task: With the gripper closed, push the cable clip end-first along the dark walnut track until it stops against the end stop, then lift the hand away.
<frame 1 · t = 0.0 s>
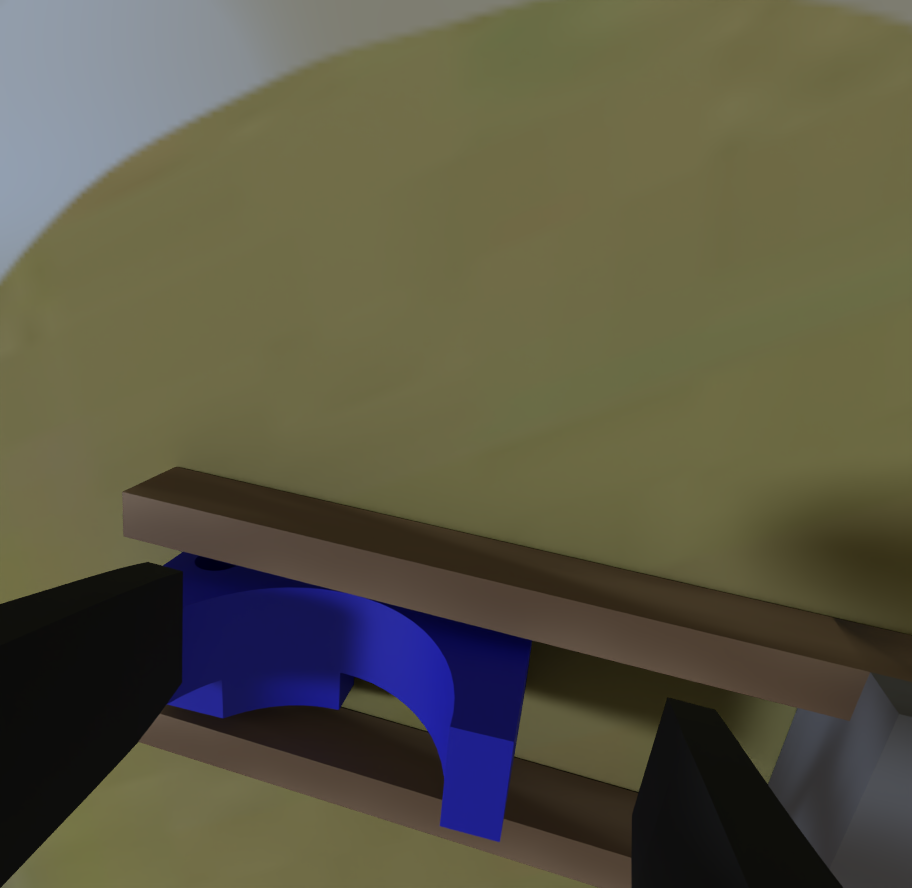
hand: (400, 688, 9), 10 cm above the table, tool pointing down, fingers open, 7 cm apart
cable clip: (359, 624, 21), resting in cable track
cable track: (496, 672, 20), on the table
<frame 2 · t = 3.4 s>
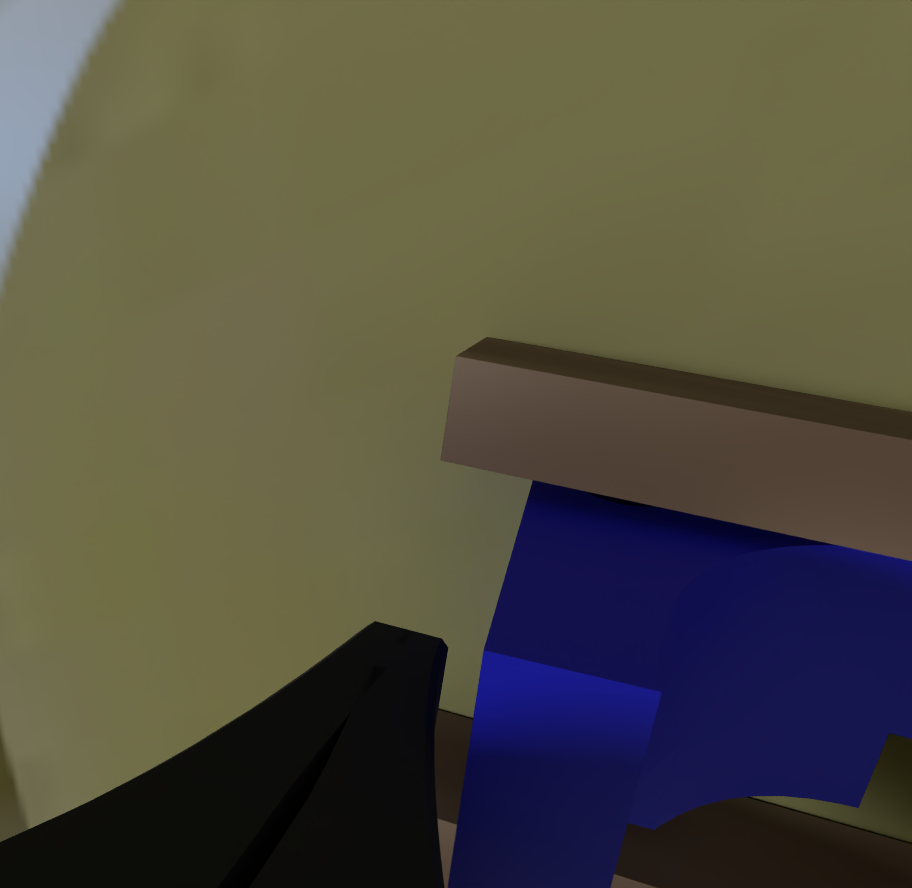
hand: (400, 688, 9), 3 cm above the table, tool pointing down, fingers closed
cable clip: (858, 630, 11), resting in cable track, touching gripper
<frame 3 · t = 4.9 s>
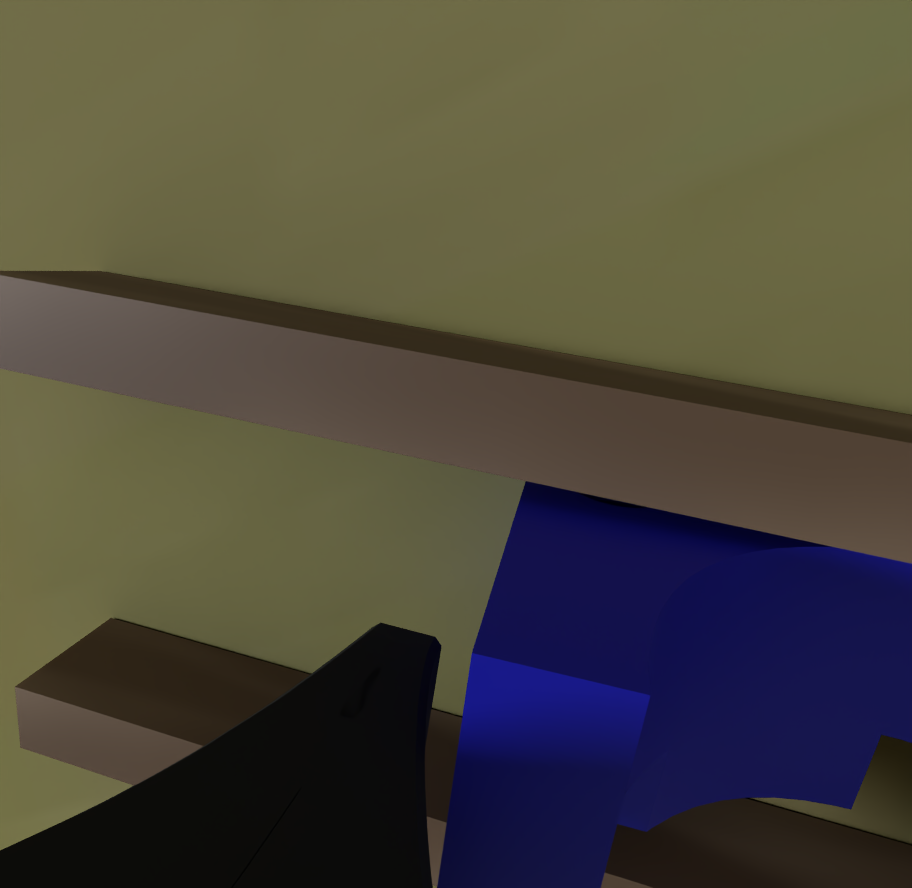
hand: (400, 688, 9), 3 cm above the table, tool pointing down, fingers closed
cable clip: (851, 631, 11), resting in cable track, touching gripper
cable track: (669, 630, 11), on the table
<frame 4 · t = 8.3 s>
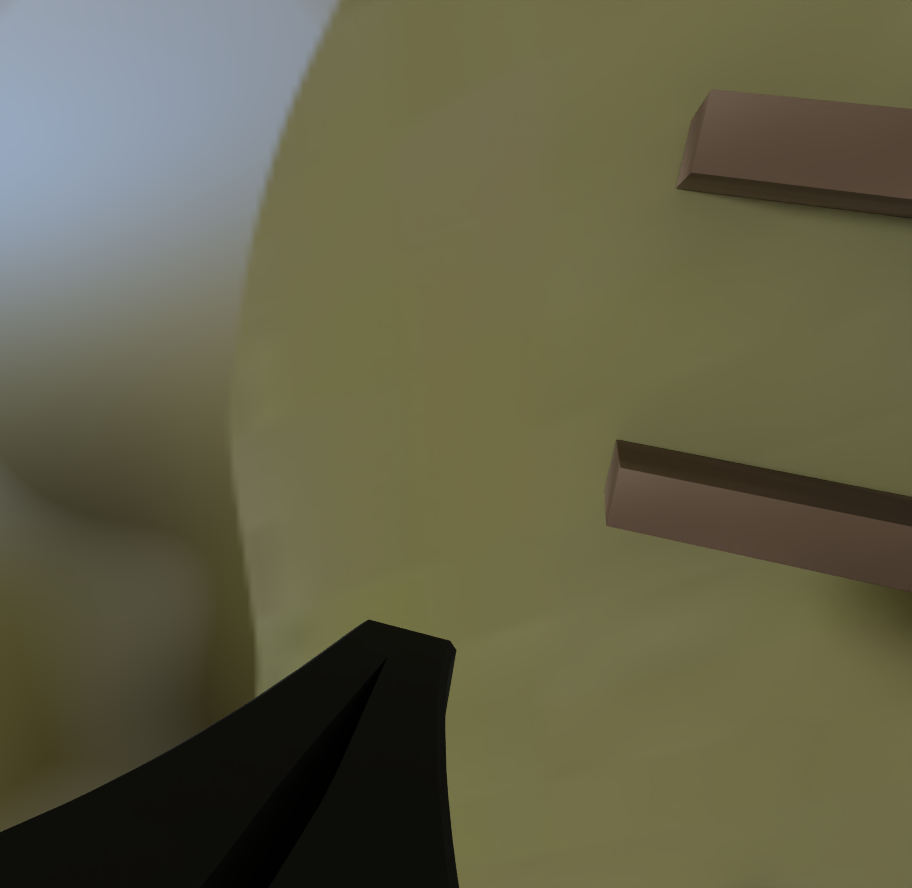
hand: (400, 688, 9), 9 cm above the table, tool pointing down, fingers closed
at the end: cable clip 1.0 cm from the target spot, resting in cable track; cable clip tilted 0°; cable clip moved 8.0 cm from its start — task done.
